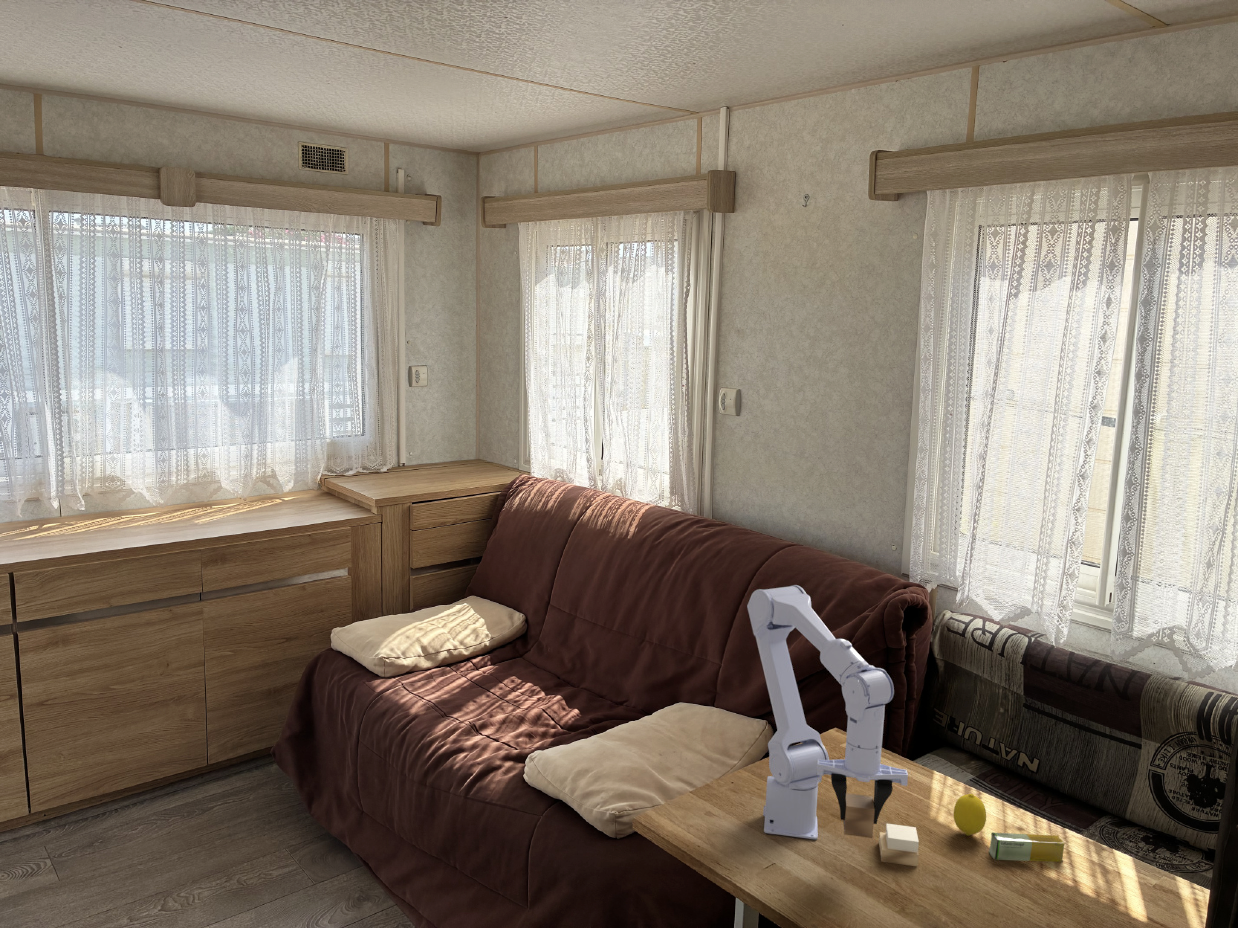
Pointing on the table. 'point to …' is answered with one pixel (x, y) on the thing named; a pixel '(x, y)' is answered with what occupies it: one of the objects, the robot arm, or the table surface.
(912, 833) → the cream block
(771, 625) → the robot arm
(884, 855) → the oak base block
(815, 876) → the table surface
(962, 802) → the lemon
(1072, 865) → the table surface
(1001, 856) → the medication box
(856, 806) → the walnut block
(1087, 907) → the table surface
